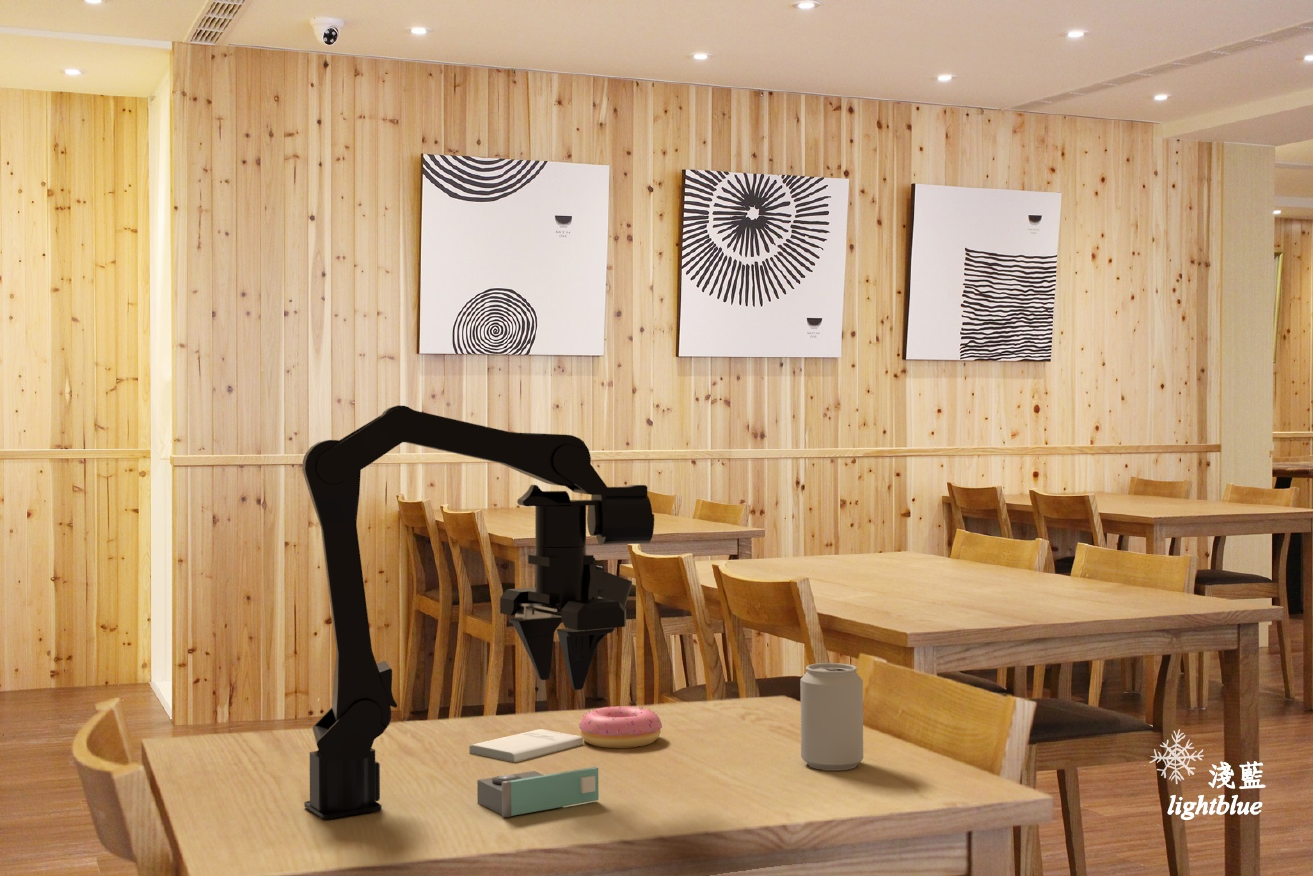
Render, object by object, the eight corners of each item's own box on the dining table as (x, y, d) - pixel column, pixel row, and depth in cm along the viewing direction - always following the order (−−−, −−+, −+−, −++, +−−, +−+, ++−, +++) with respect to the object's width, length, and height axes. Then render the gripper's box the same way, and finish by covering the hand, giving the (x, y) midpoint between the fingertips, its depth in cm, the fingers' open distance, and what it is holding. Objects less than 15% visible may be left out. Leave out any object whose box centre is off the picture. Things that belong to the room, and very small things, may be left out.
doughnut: (660, 732, 181) (660, 701, 181) (663, 751, 170) (663, 718, 170) (580, 733, 181) (579, 702, 181) (578, 752, 170) (577, 719, 170)
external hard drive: (469, 757, 169) (538, 739, 179) (514, 766, 164) (583, 748, 173) (468, 744, 169) (538, 727, 179) (514, 753, 164) (583, 735, 173)
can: (875, 764, 162) (874, 665, 162) (839, 775, 156) (838, 673, 156) (825, 754, 167) (824, 658, 167) (788, 765, 161) (787, 666, 162)
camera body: (502, 815, 140) (502, 787, 140) (477, 803, 145) (477, 775, 145) (560, 805, 144) (560, 777, 144) (534, 793, 149) (534, 766, 149)
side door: (506, 818, 139) (506, 784, 139) (500, 815, 140) (500, 781, 140) (600, 801, 145) (600, 769, 145) (594, 798, 146) (594, 766, 146)
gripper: (666, 548, 147) (666, 689, 147) (579, 538, 163) (579, 666, 163) (579, 552, 141) (580, 700, 141) (497, 542, 156) (497, 675, 156)
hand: (560, 684), depth 150 cm, fingers open, 7 cm apart
